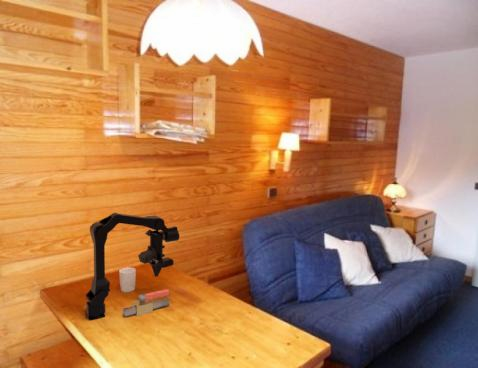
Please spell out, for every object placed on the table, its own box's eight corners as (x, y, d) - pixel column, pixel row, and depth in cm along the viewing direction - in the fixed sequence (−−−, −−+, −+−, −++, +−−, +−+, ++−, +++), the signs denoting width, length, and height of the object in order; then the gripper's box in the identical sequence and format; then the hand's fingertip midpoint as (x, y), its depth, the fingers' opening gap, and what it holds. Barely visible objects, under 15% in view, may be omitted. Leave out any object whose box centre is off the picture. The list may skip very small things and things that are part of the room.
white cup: (133, 293, 180) (133, 273, 179) (117, 292, 180) (116, 273, 179) (138, 286, 188) (137, 267, 187) (122, 286, 188) (122, 267, 187)
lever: (139, 301, 159) (139, 297, 159) (137, 299, 161) (137, 295, 161) (169, 295, 166) (169, 291, 166) (167, 292, 169) (167, 288, 169)
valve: (126, 319, 155) (126, 307, 154) (121, 313, 160) (121, 301, 159) (170, 307, 166) (170, 296, 165) (165, 302, 171) (165, 291, 170)
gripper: (129, 242, 170) (130, 275, 172) (153, 252, 157) (153, 287, 159) (150, 238, 178) (150, 269, 180) (174, 246, 165) (174, 280, 167)
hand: (156, 276), depth 171 cm, fingers closed
